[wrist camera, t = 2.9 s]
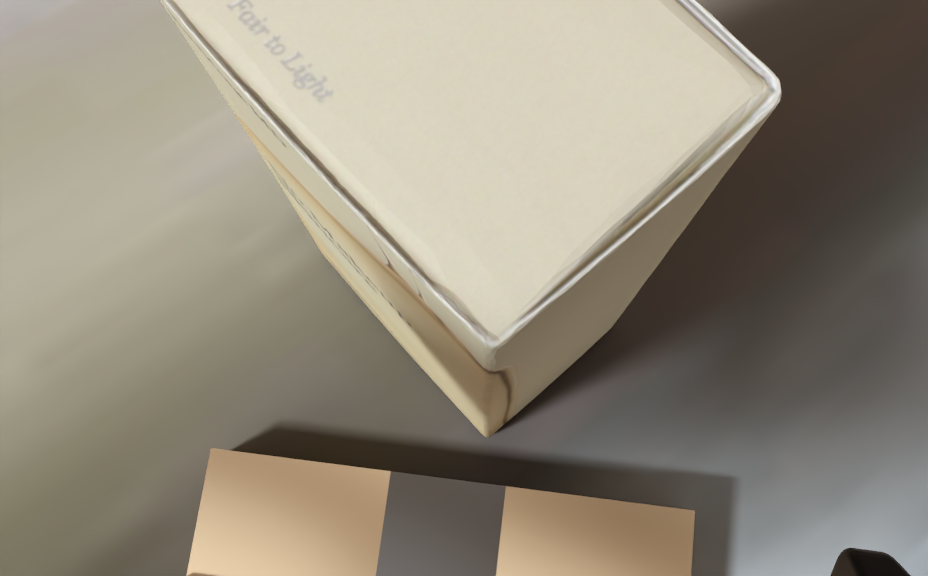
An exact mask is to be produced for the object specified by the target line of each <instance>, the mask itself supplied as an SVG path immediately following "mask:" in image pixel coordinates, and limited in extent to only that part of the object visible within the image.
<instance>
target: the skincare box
mask: <svg viewBox="0 0 928 576" xmlns="http://www.w3.org/2000/svg"><path fill="white" fill-rule="evenodd" d="M160 1H161V3H162V4H163V6H164V7H165V9H166V10H167V12H168V13H169V15H170V16H171V17H172V19H173V20H174V22H175V23H176V25H177V26H178V27H179V29H180V30H181V32H182V33H183V35H184V37H185V38H186V40H187V41H188V43H189V44H190V46H191V47H192V49H193V50H194V52H195V53H196V55H197V56H198V58H199V60H200V61H201V63H202V64H203V66H204V67H205V69H206V70H207V72H208V73H209V75H210V76H211V78H212V79H213V81H214V82H215V84H216V85H217V87H218V88H219V90H220V92H221V93H222V95H223V96H224V98H225V100H226V101H227V103H228V104H229V106H230V107H231V109H232V111H233V112H234V114H235V115H236V117H237V118H238V120H239V121H240V123H241V125H242V126H243V128H244V129H245V131H246V132H247V134H248V135H249V137H250V138H251V140H252V141H253V143H254V144H255V146H256V148H257V149H258V151H259V153H260V154H261V156H262V157H263V159H264V160H265V162H266V163H267V165H268V167H269V168H270V170H271V171H272V173H273V174H274V176H275V178H276V179H277V181H278V182H279V184H280V186H281V187H282V189H283V190H284V192H285V194H286V195H287V197H288V199H289V200H290V202H291V203H292V205H293V207H294V208H295V210H296V212H297V213H298V215H299V216H300V218H301V220H302V221H303V223H304V224H305V226H306V228H307V229H308V231H309V232H310V234H311V235H312V237H313V239H314V240H315V242H316V244H317V246H318V247H319V249H320V250H321V252H322V253H323V255H324V256H325V258H326V259H327V260H328V261H329V262H330V263H331V264H332V265H333V266H334V268H335V269H336V270H337V271H338V272H339V273H340V275H341V276H342V277H343V278H344V279H345V280H346V282H347V283H348V284H349V285H350V286H351V287H352V289H353V290H354V291H355V292H356V293H357V295H358V296H359V297H360V298H361V299H362V300H363V302H364V303H365V304H366V305H367V306H368V307H369V309H370V310H371V311H372V312H373V313H374V314H375V316H376V317H377V318H378V319H379V320H380V321H381V322H382V324H383V325H384V326H385V327H386V328H387V329H388V330H389V332H390V333H391V334H392V335H393V336H394V337H395V338H396V340H397V341H398V342H399V343H400V344H401V345H402V346H403V347H404V349H405V350H406V351H407V352H408V353H409V354H410V355H411V356H412V358H413V359H414V360H415V361H416V362H417V363H418V364H419V365H420V366H421V368H422V369H423V370H424V371H425V372H426V373H427V374H428V375H429V376H430V378H431V379H432V380H433V381H434V382H435V383H436V384H437V385H438V386H439V388H440V389H441V390H442V391H443V392H444V393H445V394H446V395H447V396H448V397H449V398H450V400H451V401H452V402H453V403H454V404H455V405H456V406H457V407H458V408H459V409H460V411H461V412H462V413H463V414H464V415H465V416H466V417H467V418H468V419H469V420H470V421H471V423H472V424H473V425H474V426H475V427H476V428H477V429H478V431H479V432H480V433H481V434H483V435H484V436H485V437H490V436H491V435H493V434H494V433H495V432H496V431H497V430H498V429H499V428H500V427H502V426H503V425H504V424H505V423H506V422H508V421H509V420H510V419H511V418H512V417H513V416H515V415H516V414H517V413H518V412H519V411H520V410H522V409H523V408H524V407H525V406H526V405H527V404H528V403H530V402H531V401H532V400H533V399H534V398H535V397H536V396H537V395H539V394H540V393H541V392H542V391H543V390H544V389H545V388H546V387H547V386H549V385H550V384H551V383H552V382H553V381H554V380H555V379H556V378H557V377H559V376H560V375H561V374H562V373H563V372H564V371H565V370H566V369H568V368H569V367H570V366H571V365H572V364H573V363H574V362H575V361H576V360H578V359H579V358H580V357H581V356H582V355H583V354H584V353H585V352H586V351H587V350H588V349H589V348H590V347H592V346H593V345H594V344H595V343H596V342H597V341H598V340H599V339H600V338H601V337H602V336H603V335H604V334H605V333H606V332H608V331H609V330H610V329H611V328H612V327H613V325H614V324H615V322H616V321H617V320H618V318H619V317H620V316H621V314H622V313H623V312H624V310H625V309H626V308H627V306H628V305H629V303H630V302H631V301H632V300H633V298H634V297H635V296H636V294H637V293H638V291H639V290H640V288H641V287H642V286H643V284H644V283H645V282H646V280H647V279H648V278H649V276H650V275H651V274H652V272H653V271H654V270H655V268H656V267H657V266H658V265H659V263H660V262H661V261H662V259H663V258H664V256H665V255H666V254H667V252H668V251H669V249H670V248H671V247H672V245H673V244H674V242H675V241H676V240H677V238H678V237H679V236H680V235H681V233H682V232H683V231H684V229H685V228H686V227H687V225H688V224H689V223H690V221H691V220H692V218H693V217H694V216H695V214H696V213H697V212H698V210H699V209H700V208H701V206H702V205H703V204H704V202H705V201H706V199H707V198H708V197H709V195H710V194H711V193H712V191H713V190H714V188H715V187H716V186H717V184H718V183H719V181H720V180H721V179H722V177H723V176H724V175H725V173H726V172H727V171H728V170H729V168H730V167H731V166H732V164H733V163H734V162H735V160H736V159H737V158H738V157H739V155H740V154H741V153H742V151H743V150H744V149H745V147H746V146H747V145H748V143H749V142H750V141H751V139H752V138H753V137H754V135H755V134H756V133H757V132H758V130H759V129H760V128H761V126H762V125H763V124H764V122H765V121H766V120H767V118H768V117H769V116H770V114H771V113H772V112H773V111H774V109H775V108H776V106H777V105H778V103H779V102H780V99H781V96H782V93H781V85H780V81H779V79H778V78H777V77H776V75H775V74H774V73H773V72H772V71H771V70H770V69H769V68H768V67H767V66H766V65H765V64H764V63H763V62H761V61H760V60H759V59H758V58H757V57H756V56H755V55H754V54H753V53H752V52H751V51H749V50H748V49H747V48H746V47H745V46H744V45H743V44H742V43H741V42H740V41H739V40H737V39H736V38H735V37H734V36H733V35H732V34H731V33H730V32H729V31H728V30H727V29H726V28H725V27H724V26H723V25H722V24H721V23H720V22H719V21H718V20H717V19H716V18H715V17H714V16H713V15H712V14H711V13H710V12H708V11H707V10H706V9H705V8H704V7H703V6H702V5H701V4H699V3H698V2H697V1H696V0H160Z"/></svg>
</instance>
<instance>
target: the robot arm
mask: <svg viewBox="0 0 928 576" xmlns="http://www.w3.org/2000/svg"><path fill="white" fill-rule="evenodd" d="M831 576H910V575H909V574H908V572H907V571H906V570H905V569H904V568H903V567H902V566H901V565H900V564H899V563H898V562H897V561H896V560H895V559H894V558H893V557H891V556H890V555H888V554H886V553H883V552H878V551H871V550H863V549H856V548H847V549H845V550H843V551H842V552H841V553H840V555H839V557H838V559H837V561H836V564H835V566H834V568H833V571H832V573H831Z"/></svg>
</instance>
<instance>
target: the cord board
mask: <svg viewBox="0 0 928 576" xmlns="http://www.w3.org/2000/svg"><path fill="white" fill-rule="evenodd" d="M694 521H695V511H694V510H687V509H679V508H671V507H663V506H656V505H648V504H640V503H632V502H625V501H617V500H609V499H601V498H594V497H586V496H578V495H570V494H563V493H555V492H547V491H540V490H532V489H524V488H516V487H509V486H501V485H493V484H485V483H478V482H470V481H462V480H454V479H447V478H439V477H431V476H423V475H416V474H408V473H400V472H392V471H385V470H377V469H369V468H361V467H354V466H346V465H338V464H331V463H323V462H315V461H307V460H300V459H292V458H284V457H276V456H269V455H261V454H253V453H245V452H238V451H230V450H222V449H214V448H211V451H210V456H209V461H208V466H207V471H206V477H205V482H204V487H203V492H202V497H201V503H200V508H199V513H198V518H197V524H196V529H195V534H194V539H193V544H192V550H191V555H190V560H189V565H188V570H187V576H691V569H692V553H693V537H694Z"/></svg>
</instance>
